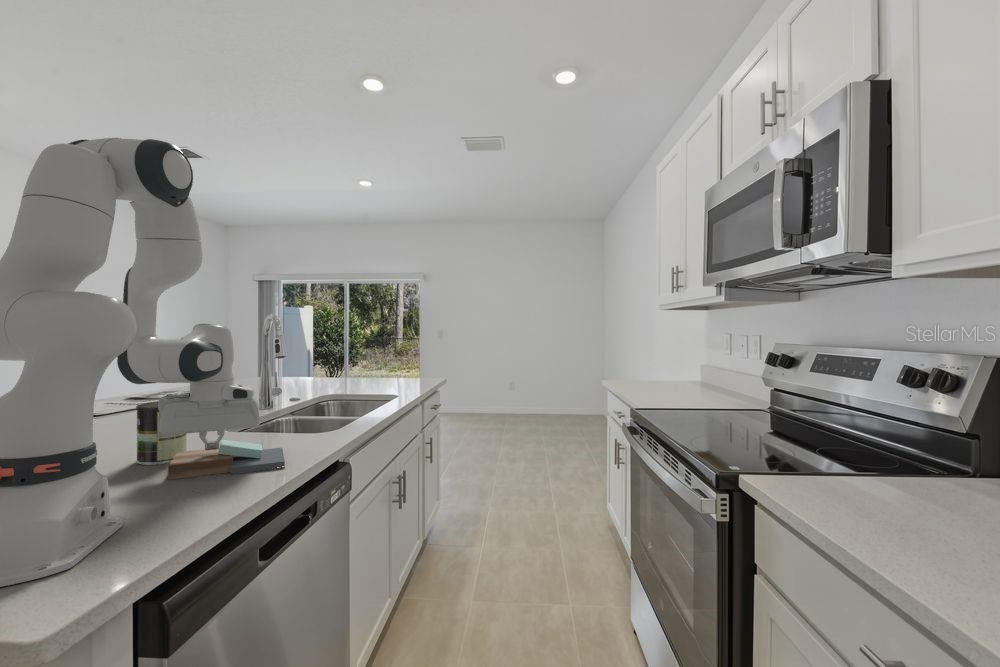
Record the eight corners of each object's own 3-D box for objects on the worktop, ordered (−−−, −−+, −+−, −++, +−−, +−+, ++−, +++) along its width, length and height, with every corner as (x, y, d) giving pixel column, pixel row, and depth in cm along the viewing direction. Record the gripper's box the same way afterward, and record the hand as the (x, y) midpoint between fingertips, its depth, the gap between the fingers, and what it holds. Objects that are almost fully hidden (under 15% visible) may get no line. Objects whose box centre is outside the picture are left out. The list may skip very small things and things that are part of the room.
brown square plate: (231, 471, 104) (231, 458, 104) (168, 479, 98) (168, 465, 98) (234, 458, 114) (234, 446, 114) (177, 464, 109) (177, 452, 109)
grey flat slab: (284, 467, 107) (284, 461, 107) (231, 474, 102) (231, 467, 102) (282, 453, 120) (282, 447, 120) (234, 458, 114) (234, 452, 114)
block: (259, 458, 109) (262, 450, 110) (217, 453, 105) (220, 445, 105) (259, 452, 115) (261, 444, 115) (219, 447, 110) (222, 439, 111)
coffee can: (130, 467, 106) (130, 408, 106) (143, 456, 116) (143, 401, 115) (182, 462, 111) (182, 405, 110) (191, 451, 120) (191, 399, 120)
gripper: (155, 396, 99) (155, 458, 99) (260, 391, 109) (259, 447, 109) (160, 392, 105) (160, 451, 105) (259, 387, 115) (259, 441, 115)
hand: (212, 449), depth 107 cm, fingers closed
